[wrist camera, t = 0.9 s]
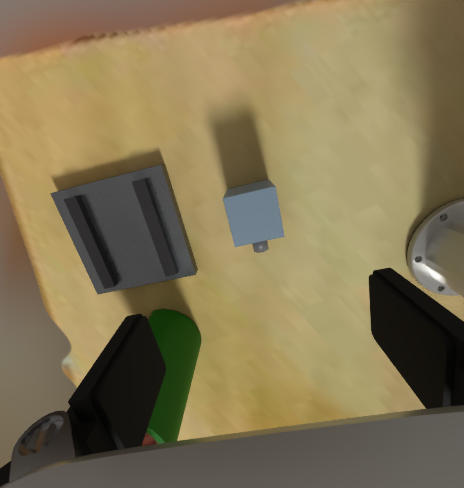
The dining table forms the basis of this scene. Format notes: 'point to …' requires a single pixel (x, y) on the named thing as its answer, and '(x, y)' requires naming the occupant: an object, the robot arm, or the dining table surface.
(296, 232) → the dining table surface
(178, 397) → the motor
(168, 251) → the mounting bracket
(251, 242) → the slate grey block
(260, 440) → the robot arm
